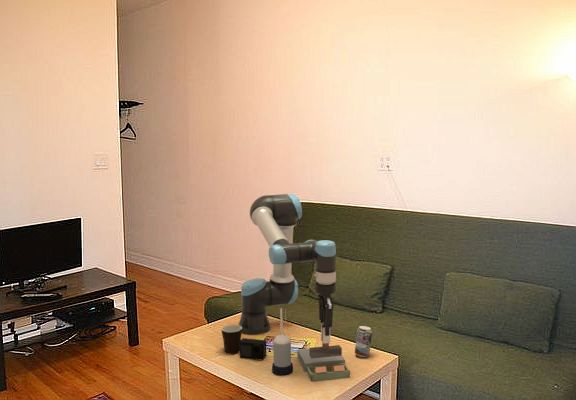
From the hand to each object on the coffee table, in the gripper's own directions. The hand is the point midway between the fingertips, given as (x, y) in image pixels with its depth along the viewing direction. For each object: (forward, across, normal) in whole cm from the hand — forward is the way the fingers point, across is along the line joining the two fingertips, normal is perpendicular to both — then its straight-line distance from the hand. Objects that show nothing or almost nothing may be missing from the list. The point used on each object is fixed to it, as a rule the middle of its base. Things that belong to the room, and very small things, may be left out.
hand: (325, 341), depth 195 cm
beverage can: (+12, -10, +19) cm, 25 cm away
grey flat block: (+12, -8, 0) cm, 14 cm away
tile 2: (+9, +4, +4) cm, 10 cm away
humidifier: (+12, -4, -16) cm, 21 cm away
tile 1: (+8, +4, -4) cm, 10 cm away
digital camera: (+13, -19, -26) cm, 34 cm away
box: (+12, +4, 0) cm, 12 cm away
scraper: (+6, 0, 0) cm, 6 cm away
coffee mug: (+13, -28, -33) cm, 45 cm away
